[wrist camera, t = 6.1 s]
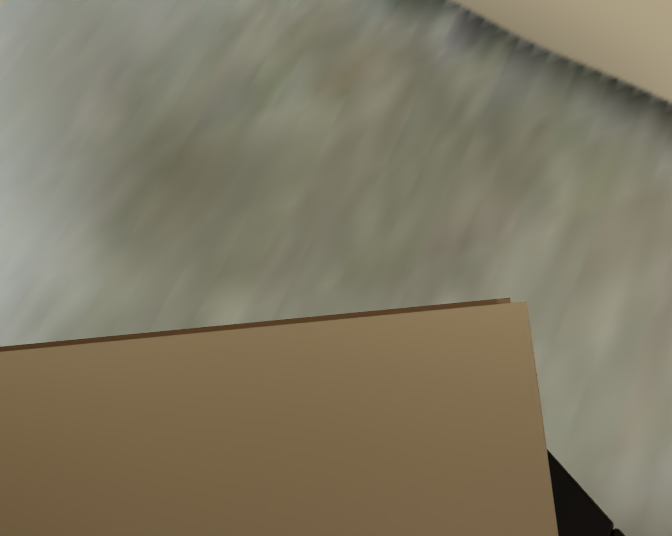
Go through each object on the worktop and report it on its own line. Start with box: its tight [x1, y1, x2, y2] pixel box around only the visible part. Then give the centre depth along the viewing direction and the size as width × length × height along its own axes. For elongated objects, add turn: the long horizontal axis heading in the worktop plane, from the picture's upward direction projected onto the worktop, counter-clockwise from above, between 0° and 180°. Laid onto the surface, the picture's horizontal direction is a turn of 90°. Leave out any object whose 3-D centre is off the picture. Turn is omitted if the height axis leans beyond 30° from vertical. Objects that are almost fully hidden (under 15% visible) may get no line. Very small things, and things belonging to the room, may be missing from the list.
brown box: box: [0, 298, 558, 536], centre depth 9 cm, size 4×4×12 cm
